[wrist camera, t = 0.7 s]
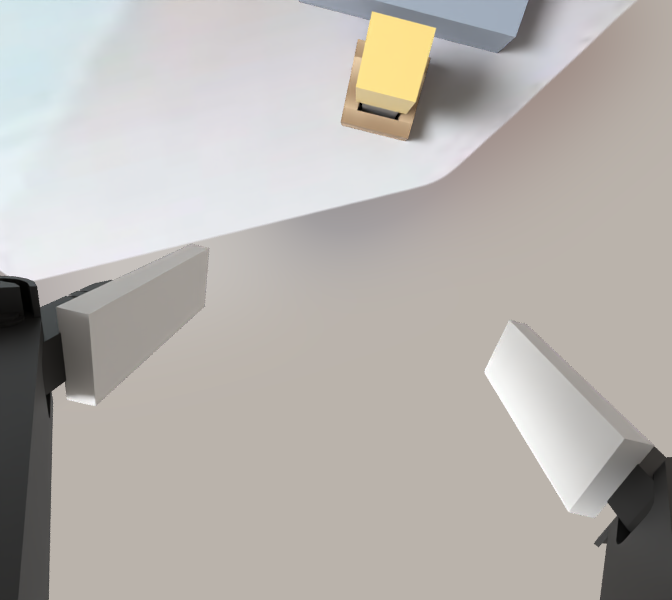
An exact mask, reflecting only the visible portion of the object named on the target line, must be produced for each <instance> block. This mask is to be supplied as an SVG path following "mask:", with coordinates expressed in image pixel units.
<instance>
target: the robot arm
mask: <svg viewBox="0 0 672 600" xmlns="http://www.w3.org/2000/svg"><path fill="white" fill-rule="evenodd" d="M208 257H209V248H207V247H203V246H199V245H194V244H190V245H187V246H185V247H183V248H181V249H179V250H177V251H175V252H173V253H171V254H168V255H166V256H164V257H162V258H160V259H158V260H155V261H153V262H151V263H149V264H147V265H145V266H143V267H140V268H138V269H136V270H134V271H132V272H130V273H128V274H125V275H123V276H122V277H119V278H117V279H115V280H109V281H104V282H99V283H95V284H92V285H89V286H87V287H85V288H83V289H81V290H80V291H76V292H74V293H71V294H69V296H65V297H62V298H60V299H58V300H56V301H54V302H51V303H49V304H47V305H44V306H42V307H40V305H39V298H38V290H37V286H36V284H35V282H33V281H31V280H29V279H26V278H21V277H14V276H0V600H49V561H50V516H51V515H50V514H51V469H52V424H53V423H52V422H53V398H52V391H53V390H54V389H55V388H57V387H58V386H59V385H61V384H62V383H63V382H65V387H66V395H67V400H71V401H76V402H80V403H85V404H89V405H94V406H96V405H97V404H98V403H99V402H101V400H103V399H104V398H105V397H106V396H107V395H108V394H109V393H110V392H111V391H113V390H114V389H115V388H116V387H117V386H118V385H119V384H120V383H121V382H123V381H124V380H125V378H127V377H128V376H129V375H130V374H131V373H132V372H133V371H134V370H136V369H137V368H138V367H139V366H140V365H141V364H142V363H143V362H144V361H145V360H147V359H148V358H149V357H150V356H151V355H152V354H153V353H154V352H155V351H156V350H158V349H159V348H160V347H161V346H162V345H163V344H164V343H165V342H166V341H167V340H168V339H169V338H171V337H172V336H173V335H174V334H175V333H176V332H177V331H178V330H179V329H181V328H182V327H183V326H184V325H185V324H186V323H187V322H188V321H189V320H190V319H191V318H193V317H194V316H195V315H196V314H197V313H198V312H199V311H200V310H201V309H202V308H204V306H205V295H206V282H207V269H208ZM484 373H485V375H486V376H487V378H488V380H489V381H490V383H491V384H492V386H493V388H494V389H495V391H496V393H497V394H498V396H499V398H500V399H501V401H502V403H503V404H504V406H505V408H506V409H507V411H508V412H509V414H510V416H511V417H512V419H513V421H514V423H515V424H516V426H517V428H518V429H519V431H520V433H521V434H522V436H523V438H524V439H525V441H526V442H527V444H528V446H529V447H530V449H531V451H532V452H533V454H534V456H535V457H536V459H537V461H538V462H539V464H540V466H541V467H542V469H543V471H544V472H545V474H546V476H547V477H548V479H549V480H550V482H551V484H552V486H553V487H554V489H555V490H556V492H557V494H558V496H559V497H560V499H561V501H562V502H563V504H564V505H565V507H566V509H567V510H568V512H570V513H574V514H579V515H583V516H588V517H592V518H595V517H596V516H597V515H598V514H599V513H600V511H601V510H602V509H603V508H604V507H605V505H606V504H607V503H609V505H610V506H611V508H612V509H613V510H614V512H615V513H616V514H617V517H616V518H615V519H614V520H613V521H612V522H611V523H610V525H609V526H608V527H607V528H606V529H605V530H604V532H603V533H602V534H601V535H600V536H599V537H598V539H597V540H596V541H595V543H594V544H595V545H597V546H598V547H599V546H600V545H601V544H602V543H607V547H606V556H605V563H604V571H603V579H602V588H601V597H600V600H672V457H667V458H666V457H665V456H664V455H663V454H662V453H661V452H660V451H659V450H658V449H657V448H655V447H654V445H653V444H652V443H651V442H650V441H649V440H648V439H647V438H646V437H645V436H644V435H643V434H642V433H641V432H640V431H639V430H638V429H637V428H635V427H634V426H633V425H632V424H631V423H630V422H629V421H628V420H627V419H626V418H625V417H624V416H623V415H622V414H621V413H620V412H619V411H617V410H616V409H615V408H614V407H613V406H612V405H611V404H610V403H609V402H608V401H607V400H606V399H605V398H604V397H603V396H602V395H601V394H600V393H599V392H597V390H595V389H594V388H593V387H592V386H591V385H590V384H589V383H588V382H587V381H586V380H585V379H584V378H583V377H582V376H581V375H579V374H578V372H576V371H575V370H574V369H573V368H572V367H571V366H570V365H569V364H568V363H567V362H566V361H565V360H564V359H563V358H562V357H561V356H560V355H559V354H558V353H557V352H555V351H554V350H553V349H552V348H551V347H550V346H549V345H548V344H547V343H546V342H545V341H544V340H543V339H542V338H541V337H540V336H539V335H537V334H536V333H535V332H534V331H533V330H532V329H531V328H530V327H529V326H528V325H527V324H525V323H520V322H516V321H512V320H509V322H508V324H507V326H506V328H505V330H504V332H503V334H502V336H501V338H500V340H499V342H498V344H497V346H496V348H495V350H494V353H493V354H492V356H491V359H490V361H489V363H488V365H487V367H486V369H485V371H484Z"/></svg>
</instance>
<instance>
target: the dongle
mask: <svg viewBox="0 0 672 600" xmlns="http://www.w3.org/2000/svg"><path fill="white" fill-rule="evenodd" d="M435 31H436V28H434V27H430V26H426V25H423V24H419V23H415V22H411V21H407V20H403V19H400V18H396V17H392V16H388V15H384V14H380V13H377V12H373V11H372V14H371V19H370V23H369V28H368V33H367V37H366V42H365V46H364V51H363V56H362V60H361V65H360V70H359V74H358V79H357V84H356V102H360V103H362V112H366V113H370V114H374V115H378V116H382V117H386V118H390V119H394V118H395V117H396V115H397V114H398V112H399V113H403V114H407V112H408V111H409V110H410V109H411V108H412V106H413V105H414V104H415V103H416V99H417V96H418V92H419V89H420V85H421V81H422V78H423V74H424V70H425V67H426V63H427V60H428V56H429V52H430V49H431V45H432V42H433V38H434V34H435Z"/></svg>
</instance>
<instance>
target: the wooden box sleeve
mask: <svg viewBox="0 0 672 600" xmlns="http://www.w3.org/2000/svg"><path fill="white" fill-rule="evenodd" d="M365 42H366V41H363V40H360V39H358V42H357V47H356V52H355V56H354V61H353V66H352V71H351V76H350V80H349V85H348V90H347V95H346V100H345V104H344V109H343V114H342V119H341V124H342V126H346V127H350V128H354V129H358V130H362V131H366V132H370V133H374V134H378V135H382V136H386V137H390V138H394V139H398V140H402V141H406V140H407V139H408V137H409V133H410V130H411V126H412V123H413V119H414V116H415V112H416V108H417V105H418V101H419V98H420V94H421V91H422V87H423V83H424V80H425V76H426V73H427V69H428V65H429V62H430V58H429V57H428V60H427V63H426V67H425V70H424V74H423V78H422V81H421V85H420V89H419V92H418V96H417V99H416V103H415V104H414V105H413V106H412V108H411V109H410V110H409V111H408V112H407V114H403V113H399V116H398V120H394V119H390V118H386V117H382V116H378V115H374V114H370V113H366V112H362V111H358V109H359V104H360V102H356V84H357V79H358V74H359V70H360V65H361V60H362V56H363V51H364V46H365Z"/></svg>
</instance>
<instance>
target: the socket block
mask: <svg viewBox="0 0 672 600" xmlns="http://www.w3.org/2000/svg"><path fill="white" fill-rule="evenodd" d="M299 2H303V3H306V4H310V5H314V6H318V7H322V8H326V9H330V10H333V11H337V12H341V13H345V14H349V15H353V16H357V17H360V18H364V19H368V20H370V19H371V14H372V11H373V12H377V13H380V14H384V15H388V16H392V17H396V18H400V19H403V20H407V21H411V22H415V23H419V24H423V25H426V26H430V27H434V28H436V31H435V34H434V37H438V38H441V39H445V40H449V41H453V42H457V43H461V44H465V45H468V46H472V47H476V48H480V49H484V50H488V51H492V52H495V53H498V52H499V51H500V50H501V49H502V48H504V47H505V46H506V45H507V44H508V43H509V42H510V41H512V40H513V39H514V38H515V37H516V34H517V32H518V29H519V26H520V23H521V20H522V17H523V14H524V12H525V9H526V6H527V3H528V0H299Z"/></svg>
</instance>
